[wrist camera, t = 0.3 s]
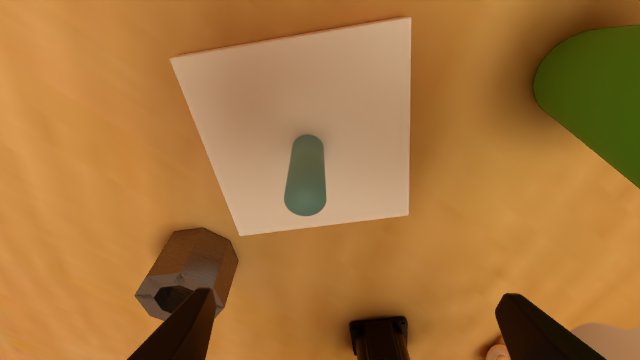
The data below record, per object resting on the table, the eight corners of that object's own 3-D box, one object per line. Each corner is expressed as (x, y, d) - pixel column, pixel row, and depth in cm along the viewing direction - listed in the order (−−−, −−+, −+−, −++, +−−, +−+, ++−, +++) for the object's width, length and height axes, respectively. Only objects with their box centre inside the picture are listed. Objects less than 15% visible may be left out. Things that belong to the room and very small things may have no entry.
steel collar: (244, 274, 29) (231, 321, 24) (182, 281, 29) (159, 328, 25) (223, 225, 25) (204, 269, 21) (154, 233, 26) (122, 279, 22)
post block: (404, 204, 24) (435, 275, 18) (243, 224, 25) (219, 298, 19) (404, 16, 17) (456, 24, 11) (179, 54, 18) (105, 82, 12)
